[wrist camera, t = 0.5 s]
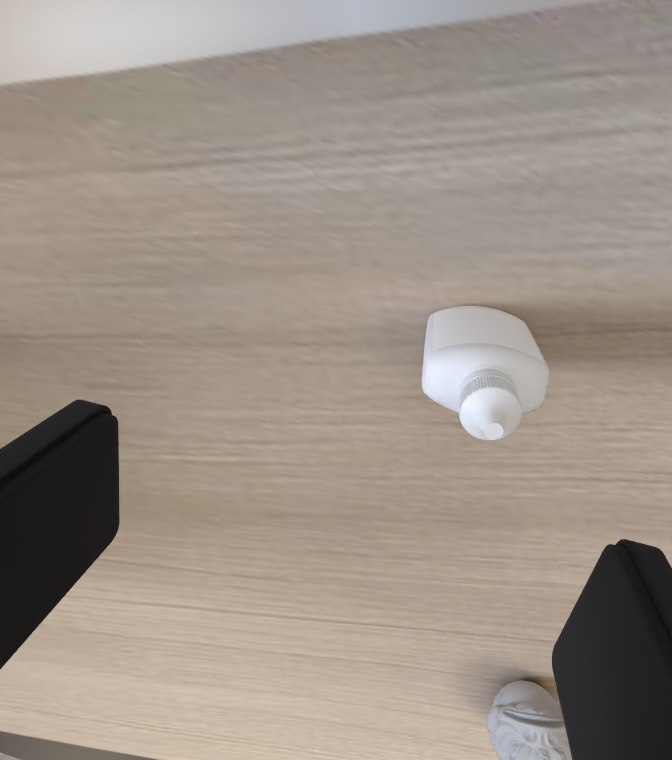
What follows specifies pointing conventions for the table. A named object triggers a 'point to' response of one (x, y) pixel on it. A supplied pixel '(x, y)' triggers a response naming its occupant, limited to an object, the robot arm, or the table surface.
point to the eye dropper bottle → (483, 368)
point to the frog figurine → (527, 724)
